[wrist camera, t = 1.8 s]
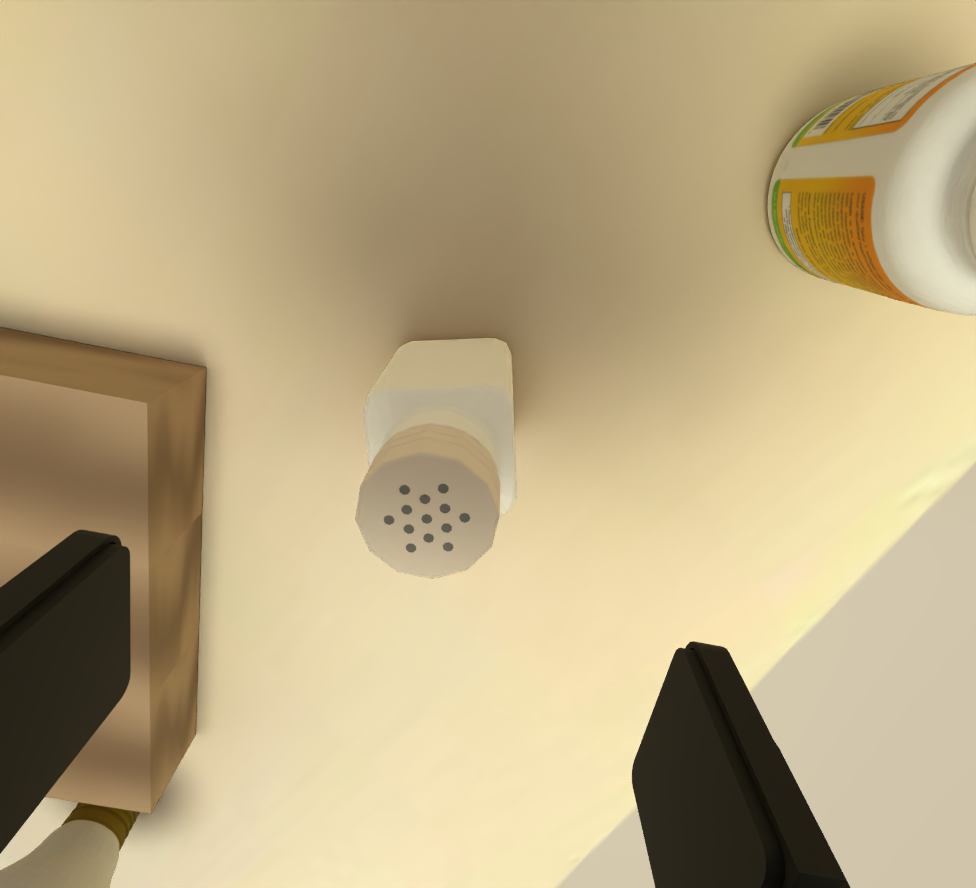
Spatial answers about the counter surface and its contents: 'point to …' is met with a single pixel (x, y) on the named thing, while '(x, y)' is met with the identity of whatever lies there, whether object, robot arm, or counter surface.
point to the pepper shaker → (438, 455)
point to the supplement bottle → (886, 193)
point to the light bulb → (75, 851)
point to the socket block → (113, 531)
